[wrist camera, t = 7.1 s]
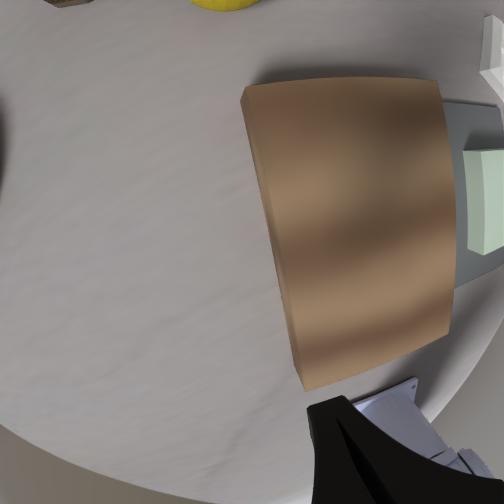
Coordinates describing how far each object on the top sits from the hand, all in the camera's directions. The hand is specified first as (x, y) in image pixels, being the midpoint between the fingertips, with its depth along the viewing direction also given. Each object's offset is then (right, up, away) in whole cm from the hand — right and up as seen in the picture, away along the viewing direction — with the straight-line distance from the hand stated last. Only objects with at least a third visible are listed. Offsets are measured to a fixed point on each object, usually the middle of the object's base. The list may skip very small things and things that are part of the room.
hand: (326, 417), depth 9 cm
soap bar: (+21, +25, +7) cm, 34 cm away
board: (+4, +7, +9) cm, 12 cm away
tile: (+17, +10, +7) cm, 21 cm away
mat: (+16, +11, +9) cm, 21 cm away
